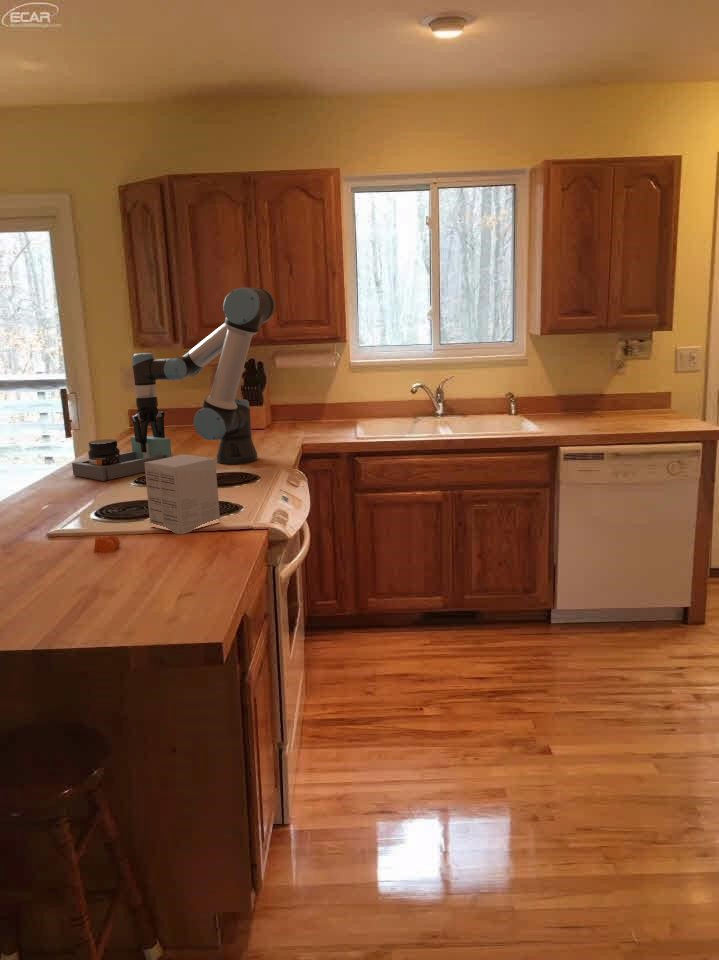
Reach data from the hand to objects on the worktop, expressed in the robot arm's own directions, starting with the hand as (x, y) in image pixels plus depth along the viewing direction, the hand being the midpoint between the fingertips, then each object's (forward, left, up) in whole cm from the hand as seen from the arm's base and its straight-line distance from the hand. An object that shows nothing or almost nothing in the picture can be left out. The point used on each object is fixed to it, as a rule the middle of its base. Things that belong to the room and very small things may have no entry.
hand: (152, 459), depth 288 cm
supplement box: (-77, +48, -2) cm, 91 cm away
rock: (-78, +72, -3) cm, 106 cm away
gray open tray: (0, +13, -2) cm, 13 cm away
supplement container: (0, +20, -2) cm, 20 cm away
